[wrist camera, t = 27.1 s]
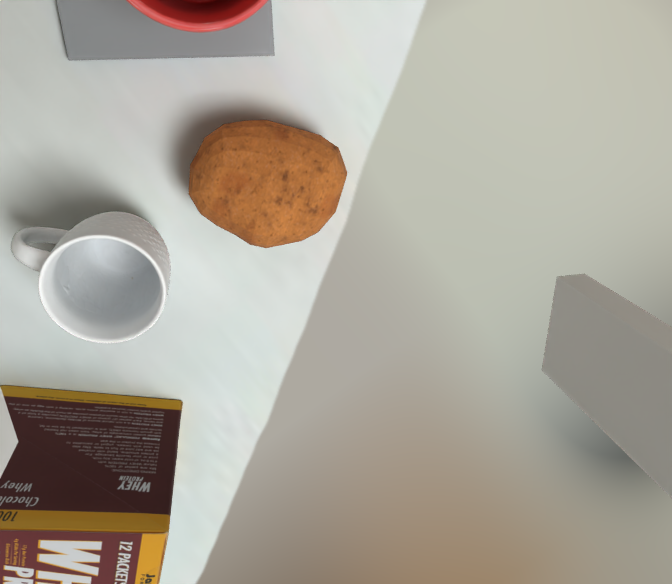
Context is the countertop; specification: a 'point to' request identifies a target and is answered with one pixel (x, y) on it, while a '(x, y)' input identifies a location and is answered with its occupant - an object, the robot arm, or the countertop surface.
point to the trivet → (154, 34)
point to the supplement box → (87, 487)
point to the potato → (267, 181)
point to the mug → (100, 275)
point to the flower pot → (198, 13)
